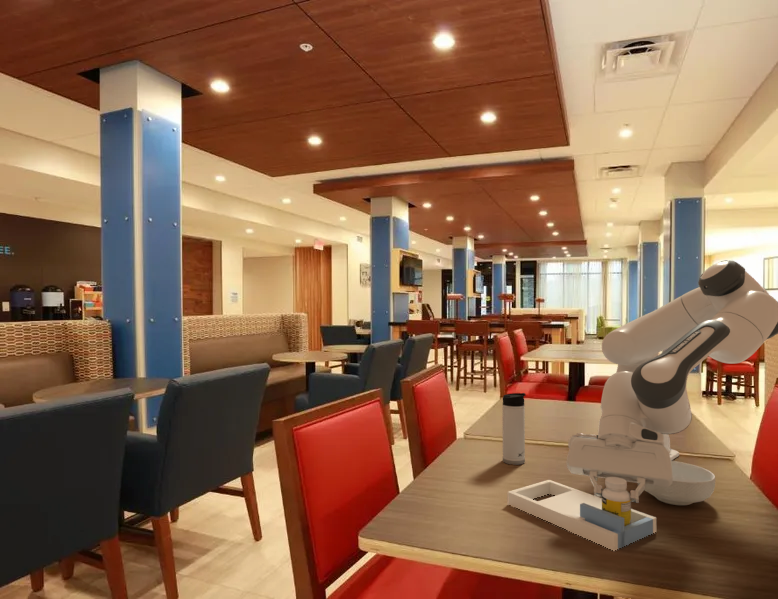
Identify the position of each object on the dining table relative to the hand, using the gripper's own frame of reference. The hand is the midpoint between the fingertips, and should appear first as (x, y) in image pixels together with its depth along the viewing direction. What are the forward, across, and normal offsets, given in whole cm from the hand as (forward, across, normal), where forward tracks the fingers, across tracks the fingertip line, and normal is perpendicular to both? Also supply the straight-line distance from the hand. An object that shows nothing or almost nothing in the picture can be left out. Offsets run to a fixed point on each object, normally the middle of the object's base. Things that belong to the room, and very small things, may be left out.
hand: (615, 498), depth 106 cm
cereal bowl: (-14, +10, +24) cm, 30 cm away
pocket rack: (+2, -8, +9) cm, 12 cm away
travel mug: (-21, -31, +32) cm, 49 cm away
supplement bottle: (+4, 0, +5) cm, 7 cm away
